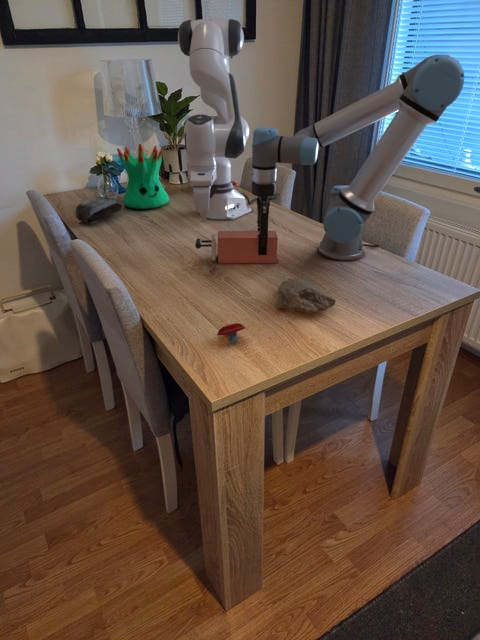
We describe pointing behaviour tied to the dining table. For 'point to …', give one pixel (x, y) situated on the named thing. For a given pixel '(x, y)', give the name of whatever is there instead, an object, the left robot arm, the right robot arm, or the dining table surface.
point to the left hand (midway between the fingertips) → (204, 217)
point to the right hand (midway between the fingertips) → (261, 250)
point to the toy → (143, 179)
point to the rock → (96, 209)
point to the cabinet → (245, 247)
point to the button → (231, 331)
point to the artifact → (302, 296)
